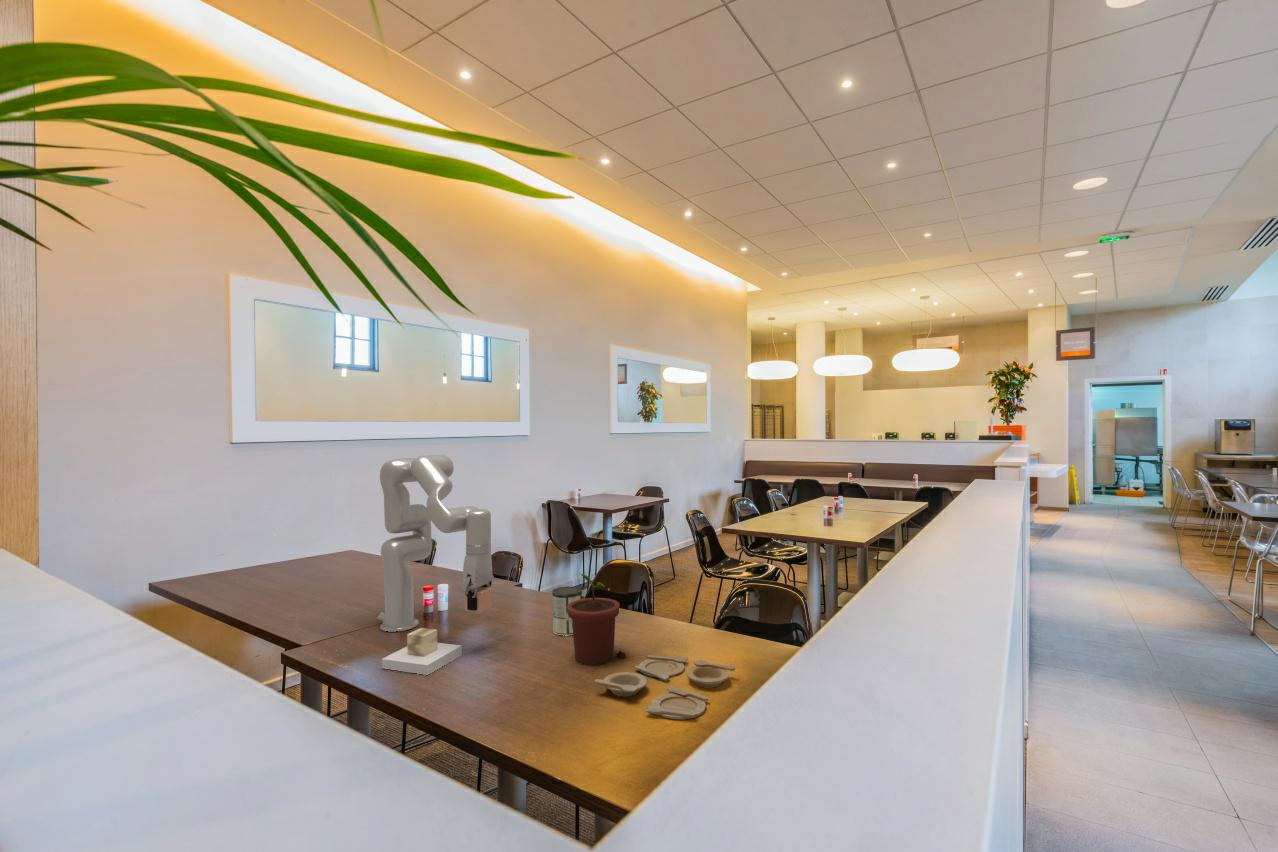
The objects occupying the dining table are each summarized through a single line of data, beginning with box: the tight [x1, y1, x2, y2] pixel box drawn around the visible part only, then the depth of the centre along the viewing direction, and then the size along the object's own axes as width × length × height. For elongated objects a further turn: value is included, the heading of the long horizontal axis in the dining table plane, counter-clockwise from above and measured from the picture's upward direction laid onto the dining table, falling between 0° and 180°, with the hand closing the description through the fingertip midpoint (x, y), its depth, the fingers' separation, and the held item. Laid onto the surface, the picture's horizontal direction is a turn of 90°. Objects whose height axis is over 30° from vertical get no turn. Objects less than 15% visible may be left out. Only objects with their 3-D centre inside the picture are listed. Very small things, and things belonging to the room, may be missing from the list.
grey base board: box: [381, 642, 463, 676], centre depth 180 cm, size 16×16×3 cm
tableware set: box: [594, 654, 736, 720], centre depth 160 cm, size 35×29×4 cm
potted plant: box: [567, 573, 627, 666], centre depth 184 cm, size 18×22×25 cm
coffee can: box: [551, 586, 583, 637], centre depth 206 cm, size 10×10×14 cm
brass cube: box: [406, 627, 438, 657], centre depth 180 cm, size 6×6×6 cm
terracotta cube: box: [464, 587, 493, 613], centre depth 188 cm, size 6×6×6 cm
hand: (478, 606), depth 188 cm, fingers closed on terracotta cube, 6 cm apart
